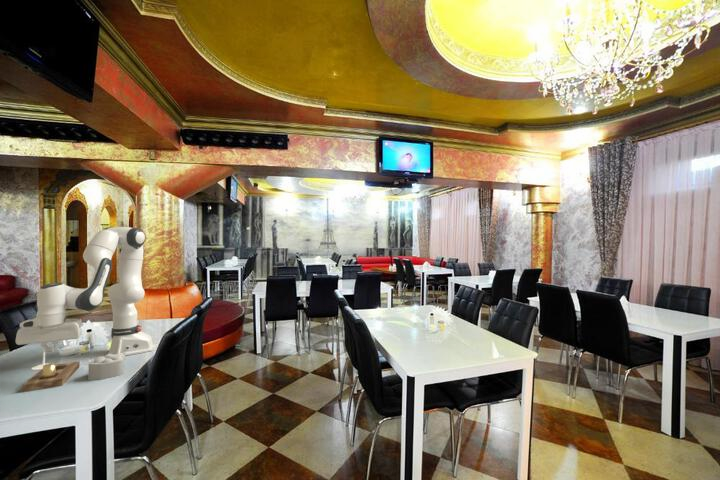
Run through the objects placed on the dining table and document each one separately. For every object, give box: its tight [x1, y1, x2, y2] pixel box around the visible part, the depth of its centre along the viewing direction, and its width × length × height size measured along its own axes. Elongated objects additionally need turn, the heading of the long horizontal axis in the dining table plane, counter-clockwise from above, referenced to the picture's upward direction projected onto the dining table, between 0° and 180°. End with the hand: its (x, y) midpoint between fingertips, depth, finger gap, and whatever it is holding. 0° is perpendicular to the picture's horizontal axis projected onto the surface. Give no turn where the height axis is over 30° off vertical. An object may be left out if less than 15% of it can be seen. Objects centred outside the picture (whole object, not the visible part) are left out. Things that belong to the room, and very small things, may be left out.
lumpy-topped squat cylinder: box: [87, 353, 126, 381], centre depth 139 cm, size 10×13×9 cm
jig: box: [22, 360, 81, 393], centre depth 134 cm, size 12×22×3 cm, turn 29°
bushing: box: [43, 362, 57, 379], centre depth 130 cm, size 4×4×8 cm
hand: (49, 351), depth 130 cm, fingers closed
